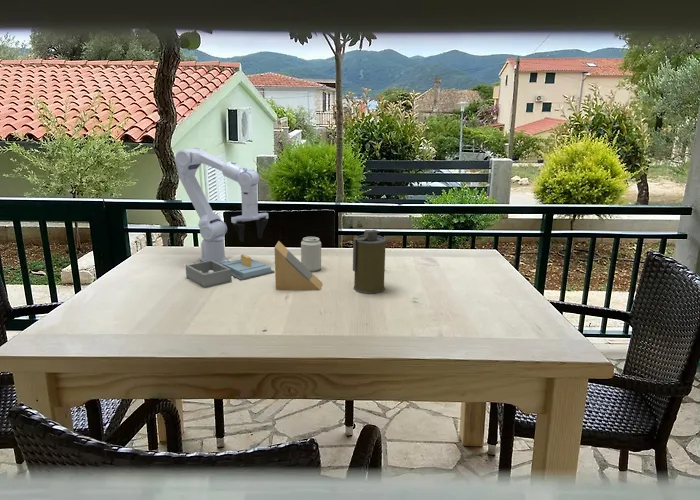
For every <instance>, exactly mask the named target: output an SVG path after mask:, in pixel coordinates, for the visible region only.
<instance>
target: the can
mask: <svg viewBox="0 0 700 500" xmlns="http://www.w3.org/2000/svg"><path fill="white" fill-rule="evenodd" d="M300 259H301V260H300V262H301V263H302V264H303V265H304V266H305V267H306V268H307V269H308V270H309V271H311V272H312V273H313V272H317V271H319V270H320V269H321V268H322V242H321V240H320V238H319V237H316V236H306V237H303V238H302V240H301V242H300Z"/></svg>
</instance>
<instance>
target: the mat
mask: <svg viewBox="0 0 700 500" xmlns="http://www.w3.org/2000/svg"><path fill="white" fill-rule="evenodd" d="M270 274H271V275H272V274H275V270H272V269H271V272H268V273H264V274H260V275H256V276H251V277H247V278H242V277H240V276H238V275H236V274H234V273H232V272H231V277H232V276H233V278H234V279H236V280H238V281H245V280H250V279H254V278H258V277H262V276H266V275H270Z"/></svg>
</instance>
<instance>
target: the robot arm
mask: <svg viewBox="0 0 700 500" xmlns="http://www.w3.org/2000/svg"><path fill="white" fill-rule="evenodd" d="M173 162H174V163H175V165H176V167H177V175H178V179H179V180H180V182H181V185H182V186H183V188H184V190H185V192H186V194H187V196H188V198H189V200H190V202H191V203H192V206H193V208H194V209H195V212H196V214H197V216H198V217H199V221H198V223H197V226H198V228H199V232H200V235H201V238H202V241H201V242H200V244H201V245H200V249H201V250H200V251H201V258H199V260H200V262H205V261H210V260H213V261H215V262H217V263H219V264H222V263H226V262H230V260H229V259H227V258H226V256H225V255H226V254H225V252H226V251H225V235H226V233H227V232H228V227H227V224H226V222H224V221H223V220H222V218H221V217H220V215H219V214H217V213H215V212H214V211H213V208H212V207H211V205H210V203H209V201H208V199H207V197H206V195H205V193H204V191H203V189H202V187H201V186H200V183H199V181H198V180H197V177H196V173H197V171H198V169H199V168H200V167H201V165H202V164H203V165H206V166H208V167H211V168H214V169H216V170H218V171H221V174H222V175H223V176H224V177H226V178H228V179H230V180H232V181H234V182H236V183H238V185H239V187H240V194H241V215H236V216H231V219H230V220H231V223H232V225H233V227H234V228H235V230H236V232H237V235H238V239H239V242H242V243H243V242H245V228H246V224H245V223H244V222H251V221H255V224H256V234H257V235H256V236H257V238H258V239H262V238H263V234H264V232H265V228H266V226H267V224H268V219H269V213H268V212H260V213H259V209H258V206H259V205H258V204H259V203H258V184H259V182H260V179H261V178H260V175H259V173H258V172H257V171H255V169H248V167H246V166H244V167H243V166H241V165H239V164H237V162H236V161H235V160H233V161H228V162H225V161H223V160H221V159H220V158H218V157H216V156H214V155H212V154H210V153H208V152H207V151H205V150H204V149H200V148H198V147H194V148H188V149H187V148H186V149H179V150H178V151H177V152H176V153H175V156H174V161H173Z"/></svg>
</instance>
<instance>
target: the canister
mask: <svg viewBox="0 0 700 500" xmlns="http://www.w3.org/2000/svg"><path fill="white" fill-rule="evenodd" d="M378 234H380V231H378V230H377V229H365V230H364V233H363V234H361V235H358V236H356V237H354V238H353V239H352V240H353V241H352V242H353V243H352V246H353V247H352V271H353V272H354V282H353V283H354V284H353V289H354V291H356V292H358V293H360V294H368V295H369V294H370V295H372V294H380V293H381V292H383V291H384V290H385V288H386V287H385V271H386V269H385V268H386V267H385V266H386V246H387V245H386V243H387V238H386V237H384V236H381V235H378Z"/></svg>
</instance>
